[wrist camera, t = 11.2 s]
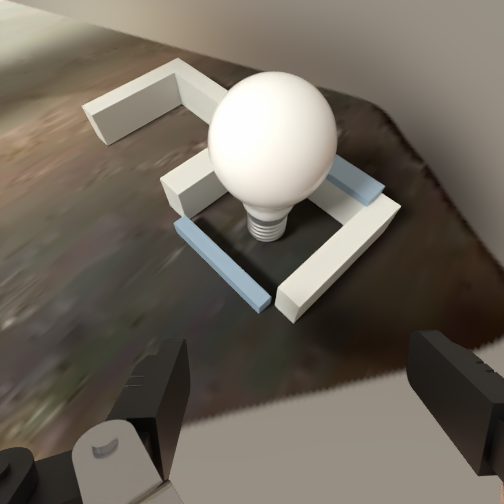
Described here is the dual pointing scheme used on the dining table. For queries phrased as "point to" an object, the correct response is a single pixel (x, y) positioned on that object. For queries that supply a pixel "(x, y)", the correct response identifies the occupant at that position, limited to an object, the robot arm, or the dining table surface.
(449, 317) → the dining table surface
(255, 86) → the lightbulb
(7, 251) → the dining table surface
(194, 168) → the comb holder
